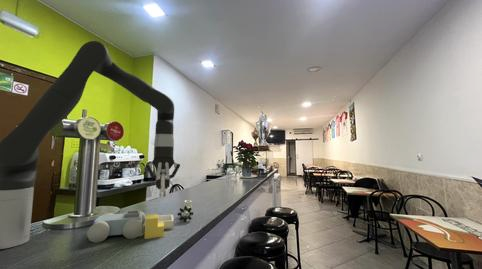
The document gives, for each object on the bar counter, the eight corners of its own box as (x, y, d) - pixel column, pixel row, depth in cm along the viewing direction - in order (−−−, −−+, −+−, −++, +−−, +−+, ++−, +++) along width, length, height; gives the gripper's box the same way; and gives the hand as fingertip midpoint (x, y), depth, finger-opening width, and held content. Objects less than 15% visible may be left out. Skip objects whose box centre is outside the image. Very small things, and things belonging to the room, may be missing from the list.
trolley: (86, 243, 68) (88, 220, 69) (98, 230, 80) (99, 210, 81) (141, 237, 73) (142, 215, 74) (145, 225, 86) (146, 207, 86)
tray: (148, 231, 80) (148, 222, 80) (149, 223, 88) (150, 216, 88) (173, 228, 83) (173, 220, 83) (172, 221, 91) (173, 214, 91)
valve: (180, 214, 102) (177, 222, 91) (181, 200, 103) (177, 206, 91) (194, 214, 103) (193, 221, 92) (195, 200, 104) (193, 205, 92)
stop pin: (157, 197, 84) (158, 169, 85) (158, 195, 88) (159, 168, 89) (167, 196, 85) (167, 168, 86) (166, 195, 89) (167, 168, 90)
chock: (144, 238, 73) (145, 219, 73) (145, 233, 77) (146, 215, 78) (163, 236, 75) (164, 217, 75) (163, 231, 79) (164, 213, 80)
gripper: (180, 146, 94) (179, 186, 93) (146, 145, 90) (144, 188, 88) (182, 145, 87) (181, 189, 86) (144, 145, 83) (142, 191, 81)
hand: (162, 188), depth 87 cm, fingers closed on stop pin, 2 cm apart
